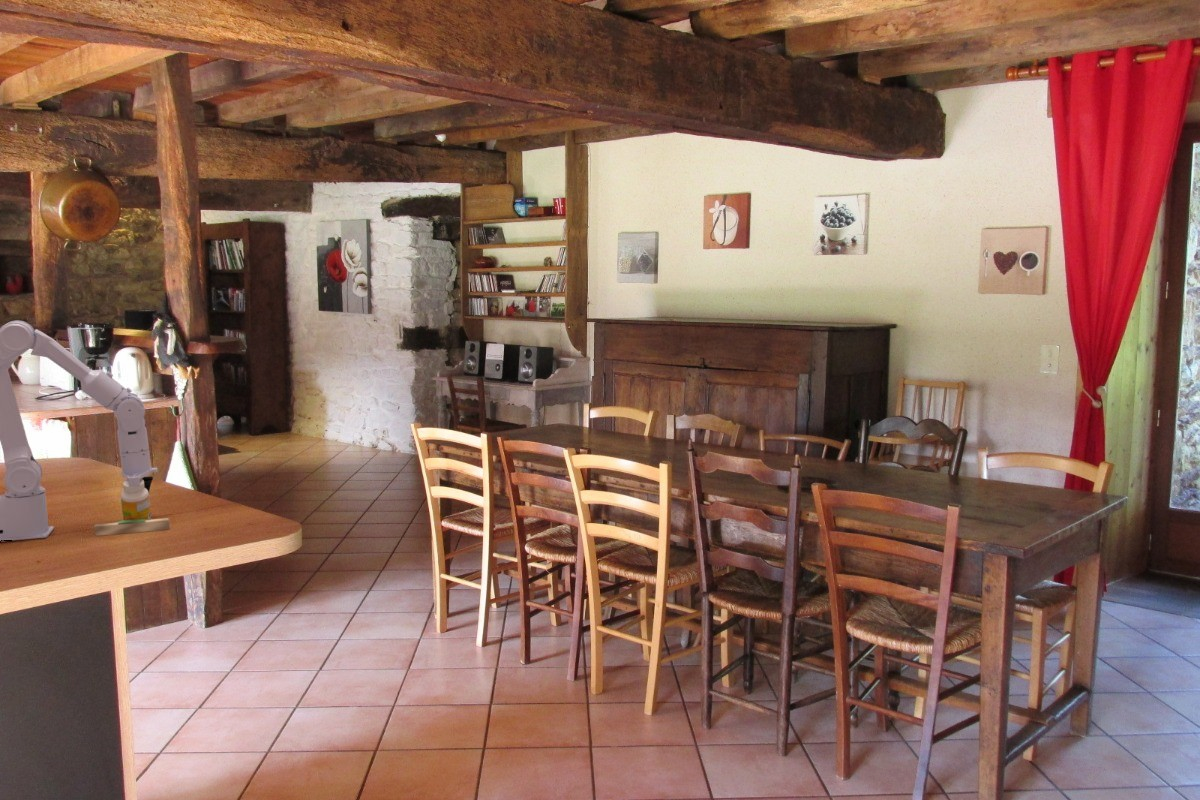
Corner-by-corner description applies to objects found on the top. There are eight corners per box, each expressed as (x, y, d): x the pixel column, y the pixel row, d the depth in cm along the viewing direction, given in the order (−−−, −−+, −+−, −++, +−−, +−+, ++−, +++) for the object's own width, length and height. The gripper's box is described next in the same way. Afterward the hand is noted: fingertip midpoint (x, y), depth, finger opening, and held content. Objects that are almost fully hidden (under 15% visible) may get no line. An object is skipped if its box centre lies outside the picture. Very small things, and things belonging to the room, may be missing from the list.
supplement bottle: (118, 522, 208) (113, 482, 204) (141, 512, 212) (137, 473, 208) (133, 531, 205) (128, 491, 202) (156, 521, 210) (152, 482, 206)
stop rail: (94, 536, 200) (94, 525, 200) (96, 533, 202) (95, 522, 202) (168, 529, 205) (168, 518, 205) (169, 527, 207) (169, 516, 207)
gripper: (151, 454, 203) (159, 517, 206) (157, 442, 217) (164, 501, 219) (114, 458, 201) (122, 522, 203) (122, 445, 215) (130, 505, 217)
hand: (142, 511), depth 211 cm, fingers closed, pressing on supplement bottle
